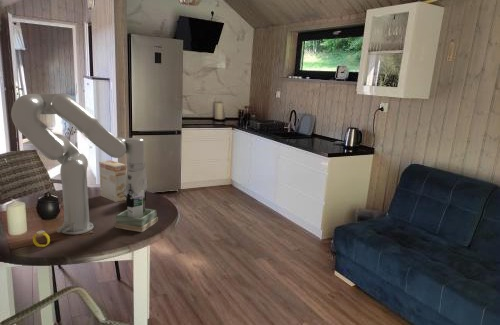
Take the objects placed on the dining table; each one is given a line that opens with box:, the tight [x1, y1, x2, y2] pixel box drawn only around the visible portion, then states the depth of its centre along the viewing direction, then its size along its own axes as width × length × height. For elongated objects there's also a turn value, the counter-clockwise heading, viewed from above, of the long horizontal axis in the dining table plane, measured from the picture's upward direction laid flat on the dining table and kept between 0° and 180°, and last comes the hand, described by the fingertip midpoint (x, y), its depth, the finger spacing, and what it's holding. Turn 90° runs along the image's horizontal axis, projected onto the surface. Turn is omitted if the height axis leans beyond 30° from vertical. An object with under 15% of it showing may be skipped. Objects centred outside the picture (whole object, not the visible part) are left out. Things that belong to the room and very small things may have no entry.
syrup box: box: [126, 190, 146, 218], centre depth 163 cm, size 6×6×14 cm
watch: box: [32, 230, 51, 248], centre depth 139 cm, size 6×3×6 cm, turn 88°
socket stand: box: [114, 208, 159, 233], centre depth 164 cm, size 14×14×6 cm
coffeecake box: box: [98, 159, 127, 203], centre depth 197 cm, size 15×7×20 cm, turn 52°
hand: (136, 203), depth 163 cm, fingers open, 9 cm apart
